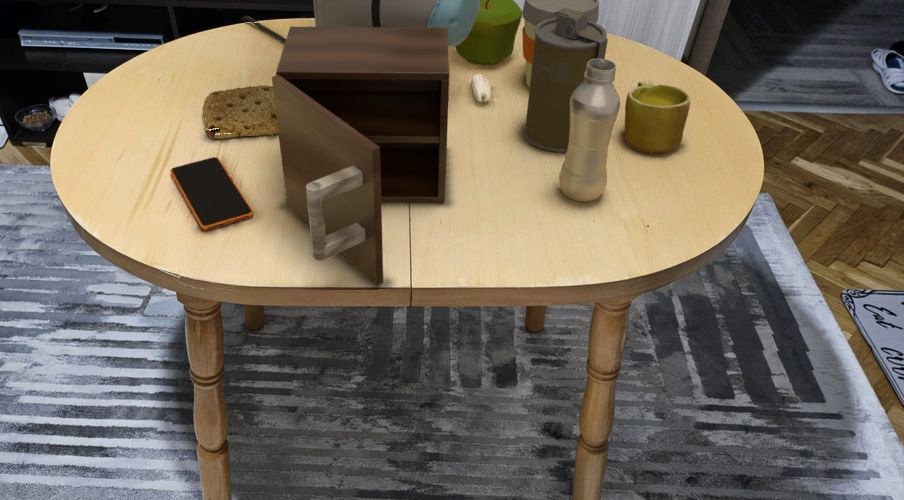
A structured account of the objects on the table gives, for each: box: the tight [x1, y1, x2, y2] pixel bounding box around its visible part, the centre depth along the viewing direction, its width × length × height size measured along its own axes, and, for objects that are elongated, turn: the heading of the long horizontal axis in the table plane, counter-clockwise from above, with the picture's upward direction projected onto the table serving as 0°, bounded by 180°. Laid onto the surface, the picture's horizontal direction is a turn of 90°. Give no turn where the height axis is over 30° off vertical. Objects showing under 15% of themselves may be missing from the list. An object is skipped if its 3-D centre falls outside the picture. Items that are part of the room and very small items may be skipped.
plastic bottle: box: [558, 58, 621, 202], centre depth 110 cm, size 6×7×20 cm
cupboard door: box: [271, 74, 384, 287], centre depth 100 cm, size 8×22×20 cm, turn 37°
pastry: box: [202, 85, 279, 140], centre depth 133 cm, size 17×17×3 cm
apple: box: [454, 0, 523, 67], centre depth 147 cm, size 12×12×11 cm
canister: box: [523, 8, 609, 153], centre depth 122 cm, size 11×10×20 cm
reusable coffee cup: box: [521, 0, 600, 88], centre depth 138 cm, size 13×13×15 cm
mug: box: [624, 79, 691, 154], centre depth 126 cm, size 12×10×10 cm
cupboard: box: [275, 26, 450, 204], centre depth 114 cm, size 14×22×20 cm, turn 89°
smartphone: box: [169, 156, 254, 231], centre depth 116 cm, size 8×17×1 cm, turn 28°
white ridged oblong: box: [470, 73, 492, 103], centre depth 138 cm, size 3×8×3 cm, turn 4°
